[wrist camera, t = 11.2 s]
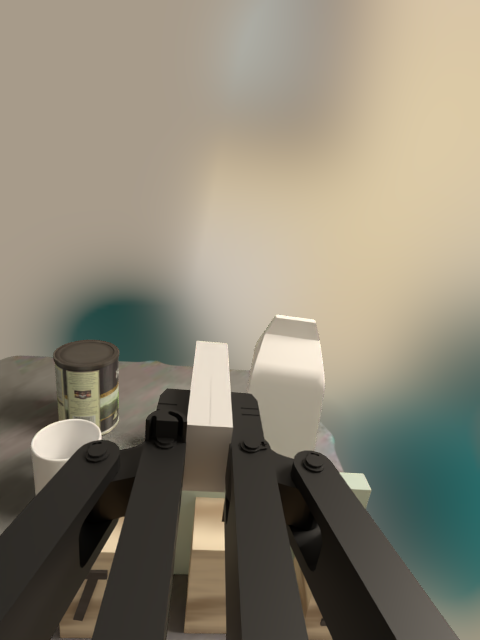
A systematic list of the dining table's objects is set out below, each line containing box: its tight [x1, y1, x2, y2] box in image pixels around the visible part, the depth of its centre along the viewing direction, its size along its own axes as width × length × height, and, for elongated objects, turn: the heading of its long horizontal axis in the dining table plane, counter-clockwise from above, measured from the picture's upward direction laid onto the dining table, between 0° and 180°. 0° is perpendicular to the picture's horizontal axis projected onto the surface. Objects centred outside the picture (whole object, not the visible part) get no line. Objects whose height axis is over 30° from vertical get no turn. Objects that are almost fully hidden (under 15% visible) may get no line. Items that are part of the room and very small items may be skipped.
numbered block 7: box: [59, 517, 124, 638], centre depth 37 cm, size 6×6×12 cm
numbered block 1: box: [293, 557, 333, 640], centre depth 39 cm, size 6×6×12 cm
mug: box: [31, 419, 101, 495], centre depth 51 cm, size 12×8×10 cm
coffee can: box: [53, 340, 119, 436], centre depth 65 cm, size 10×10×14 cm
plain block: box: [184, 497, 226, 634], centre depth 39 cm, size 6×6×12 cm
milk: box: [246, 315, 325, 459], centre depth 59 cm, size 12×12×26 cm
